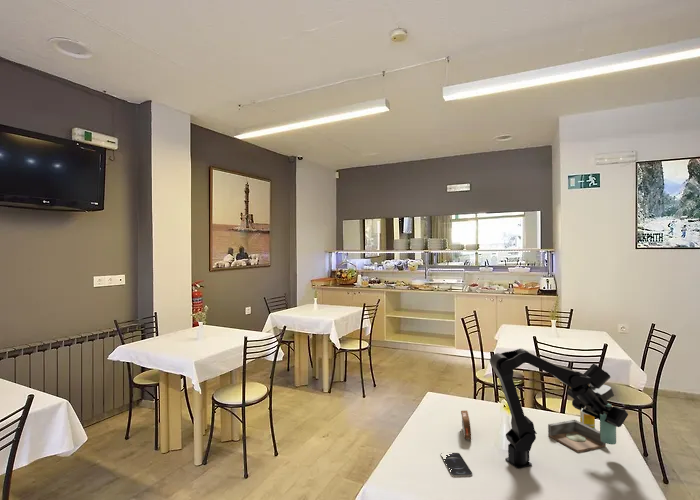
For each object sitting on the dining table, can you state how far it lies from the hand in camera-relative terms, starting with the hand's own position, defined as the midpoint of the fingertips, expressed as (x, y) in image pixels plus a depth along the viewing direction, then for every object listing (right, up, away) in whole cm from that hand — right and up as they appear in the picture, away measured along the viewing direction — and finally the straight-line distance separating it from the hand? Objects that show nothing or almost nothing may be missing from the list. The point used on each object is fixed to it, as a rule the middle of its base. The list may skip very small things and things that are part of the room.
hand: (610, 422), depth 144 cm
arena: (-6, -13, +12) cm, 18 cm away
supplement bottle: (+6, -13, +24) cm, 28 cm away
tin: (-48, -13, +18) cm, 53 cm away
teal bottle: (-1, -7, -1) cm, 7 cm away
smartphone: (-59, -13, -5) cm, 60 cm away
